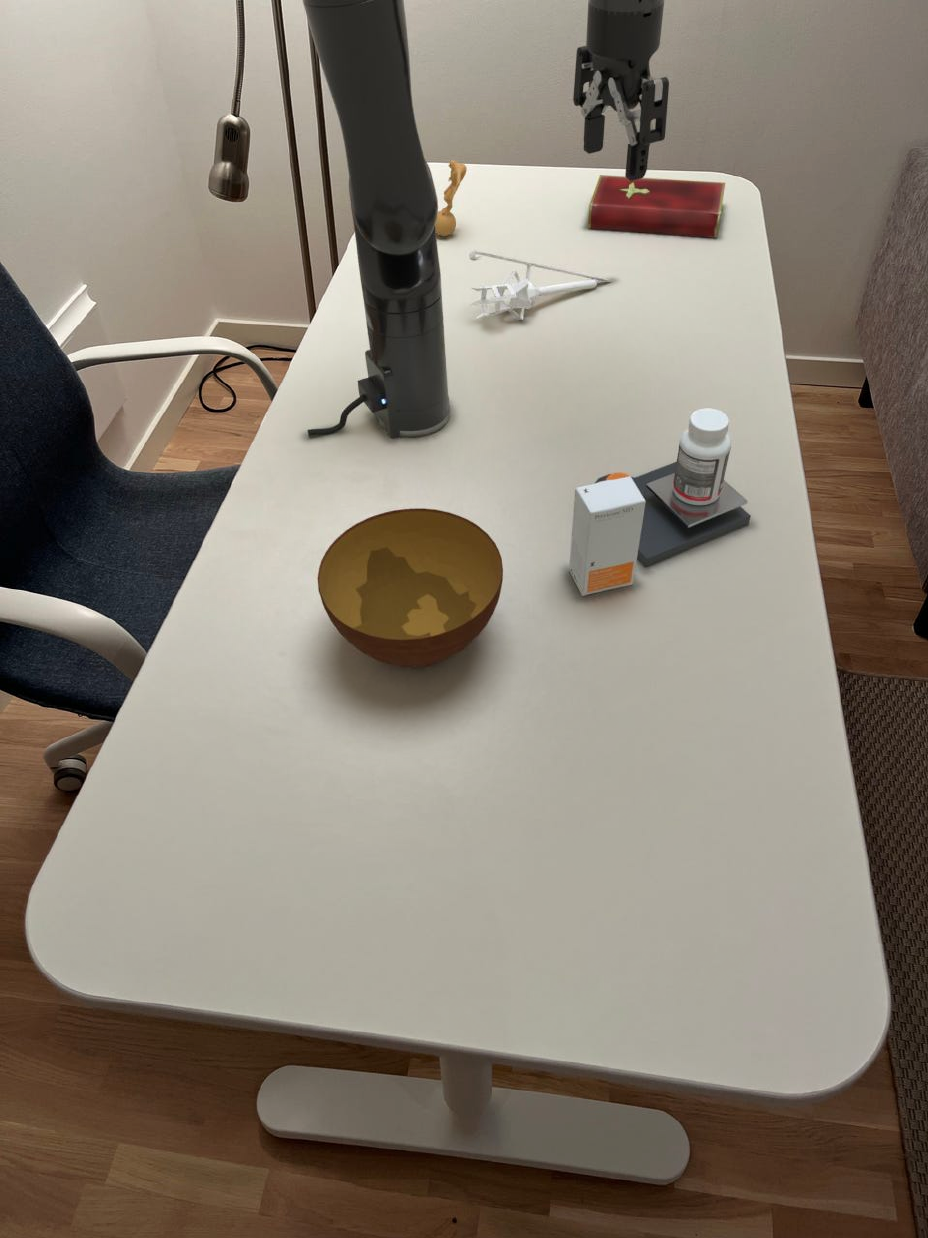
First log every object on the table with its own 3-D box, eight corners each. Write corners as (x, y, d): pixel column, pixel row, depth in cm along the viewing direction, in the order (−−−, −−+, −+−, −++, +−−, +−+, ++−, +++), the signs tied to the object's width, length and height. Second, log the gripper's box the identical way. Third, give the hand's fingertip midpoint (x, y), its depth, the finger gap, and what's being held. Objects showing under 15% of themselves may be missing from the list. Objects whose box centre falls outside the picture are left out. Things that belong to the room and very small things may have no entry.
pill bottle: (694, 469, 107) (707, 397, 100) (731, 492, 104) (747, 419, 97) (661, 490, 105) (672, 418, 97) (698, 513, 102) (712, 441, 94)
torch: (593, 342, 147) (456, 318, 134) (599, 283, 146) (461, 253, 133) (619, 339, 142) (478, 313, 129) (625, 277, 140) (484, 245, 128)
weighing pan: (688, 527, 101) (688, 525, 101) (645, 486, 106) (645, 483, 105) (747, 503, 103) (748, 500, 103) (702, 464, 108) (703, 461, 108)
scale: (642, 569, 101) (644, 549, 99) (581, 503, 109) (582, 484, 107) (748, 524, 105) (753, 504, 103) (682, 464, 113) (686, 444, 111)
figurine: (433, 223, 158) (428, 150, 149) (468, 222, 158) (465, 148, 149) (432, 247, 153) (427, 172, 144) (469, 245, 153) (466, 170, 144)
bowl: (377, 561, 104) (366, 492, 96) (527, 599, 99) (528, 530, 91) (302, 679, 93) (283, 611, 85) (467, 728, 88) (462, 661, 81)
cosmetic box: (582, 598, 99) (588, 513, 90) (568, 571, 101) (573, 486, 93) (635, 585, 100) (647, 500, 91) (620, 559, 102) (630, 473, 93)
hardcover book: (716, 238, 150) (721, 213, 147) (587, 229, 155) (589, 204, 151) (721, 206, 158) (725, 180, 155) (598, 197, 162) (600, 173, 159)
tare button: (614, 504, 104) (615, 492, 103) (599, 489, 106) (600, 477, 105) (636, 495, 105) (638, 483, 104) (621, 481, 107) (623, 469, 106)
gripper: (557, -14, 96) (552, 150, 108) (635, 21, 87) (620, 195, 99) (618, -26, 98) (607, 136, 110) (700, 7, 89) (678, 179, 101)
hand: (613, 164), depth 105 cm, fingers open, 8 cm apart
